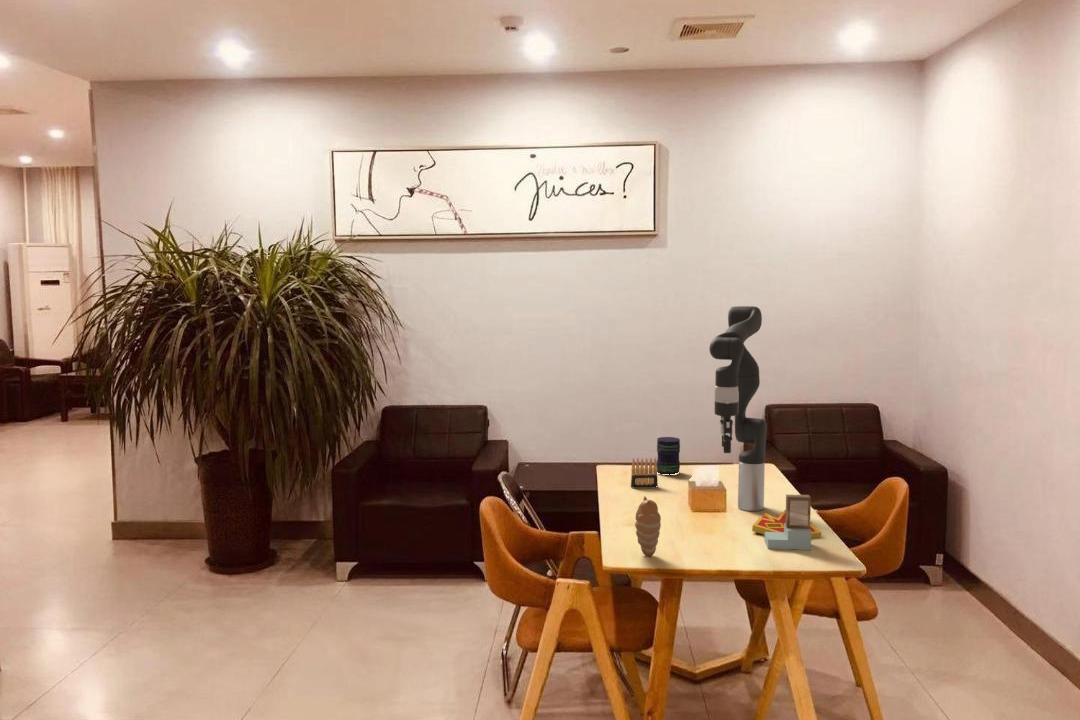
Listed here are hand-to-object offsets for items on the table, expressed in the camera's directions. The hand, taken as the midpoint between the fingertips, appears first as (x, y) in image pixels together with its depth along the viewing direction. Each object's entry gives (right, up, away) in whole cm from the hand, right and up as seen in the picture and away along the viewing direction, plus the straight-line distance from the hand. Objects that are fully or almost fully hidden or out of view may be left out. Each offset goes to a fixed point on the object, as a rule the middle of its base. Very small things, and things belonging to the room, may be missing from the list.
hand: (726, 449), depth 275 cm
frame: (+21, -24, -6) cm, 32 cm away
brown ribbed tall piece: (-27, -31, -14) cm, 43 cm away
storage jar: (-5, -20, +94) cm, 96 cm away
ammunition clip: (-18, -23, +70) cm, 76 cm away
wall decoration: (+23, -28, +16) cm, 40 cm away
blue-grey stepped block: (+18, -30, -5) cm, 35 cm away
